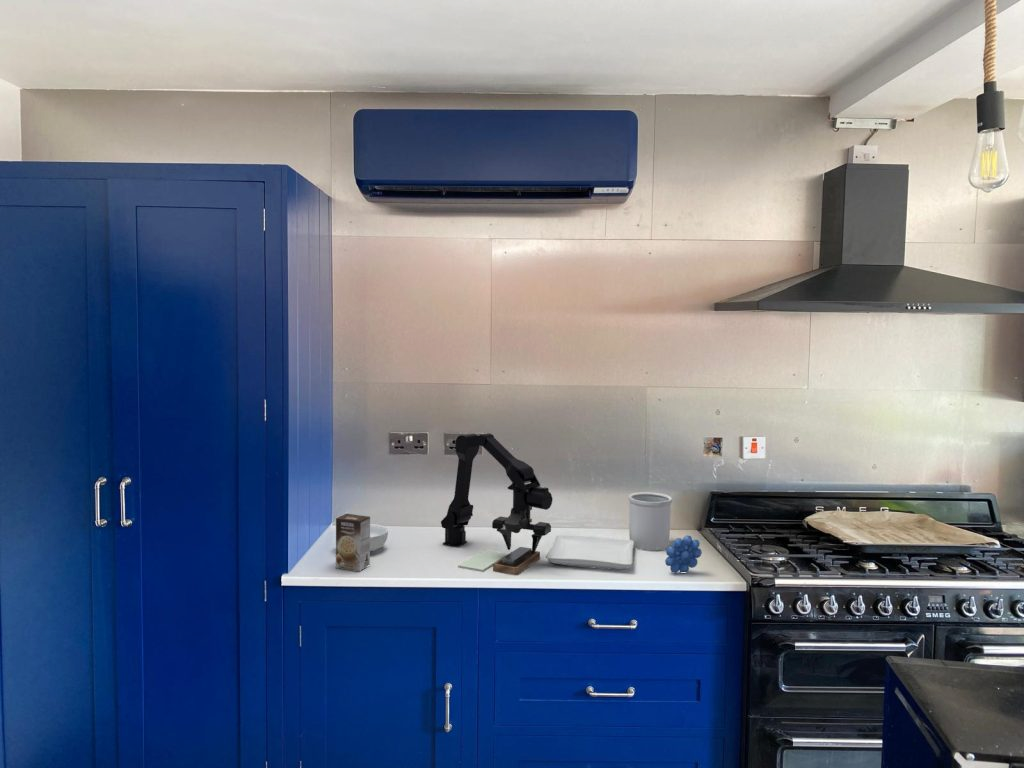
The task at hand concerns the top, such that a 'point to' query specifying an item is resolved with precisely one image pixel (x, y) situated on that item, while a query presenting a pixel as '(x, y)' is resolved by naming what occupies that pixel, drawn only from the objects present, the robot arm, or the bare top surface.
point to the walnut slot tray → (516, 570)
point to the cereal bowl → (377, 536)
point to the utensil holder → (649, 520)
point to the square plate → (591, 552)
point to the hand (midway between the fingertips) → (521, 551)
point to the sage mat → (482, 560)
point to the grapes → (683, 554)
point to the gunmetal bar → (517, 557)
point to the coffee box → (352, 542)
